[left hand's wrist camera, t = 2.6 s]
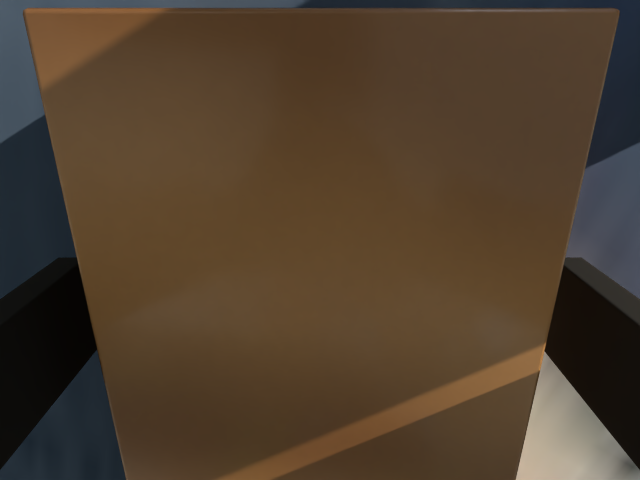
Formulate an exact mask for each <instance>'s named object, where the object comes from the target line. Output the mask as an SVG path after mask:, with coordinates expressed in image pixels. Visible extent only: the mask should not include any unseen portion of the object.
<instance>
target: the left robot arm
mask: <svg viewBox="0 0 640 480" xmlns="http://www.w3.org/2000/svg"><path fill="white" fill-rule="evenodd" d="M96 350H97V346H96V341H95V337H94V332H93V328H92V323H91V319H90V314H89V310H88V305H87V301H86V296H85V292H84V287H83V283H82V278H81V274H80V269H79V265H78V260H77V258H58V259H56V260H55V261H53V262H52V263H51V264H49V265H48V266H46V267H45V268H44V269H42V270H41V271H39V272H38V273H37V274H35V275H34V276H32V277H31V278H30V279H28V280H27V281H25V282H24V283H22V284H21V285H20V286H18V287H17V288H15V289H14V290H13V291H11V292H10V293H8V294H7V295H6V296H4V297H3V298H1V299H0V469H1V468H2V467H3V466H4V464H5V463H6V462H7V461H8V459H9V458H10V457H11V456H12V455H13V453H14V452H15V451H16V450H17V448H18V447H19V446H20V445H21V443H22V442H23V441H24V440H25V438H26V437H27V436H28V435H29V433H30V432H31V431H32V430H33V428H34V427H35V426H36V425H37V423H38V422H39V421H40V420H41V418H42V417H43V416H44V415H45V413H46V412H47V411H48V410H49V408H50V407H51V406H52V405H53V403H54V402H55V401H56V400H57V398H58V397H59V396H60V395H61V393H62V392H63V391H64V390H65V388H66V387H67V386H68V385H69V383H70V382H71V381H72V380H73V379H74V377H75V376H76V375H77V374H78V372H79V371H80V370H81V369H82V367H83V366H84V365H85V364H86V362H87V361H88V360H89V359H90V357H91V356H92V355H93V354H94V352H95V351H96ZM544 351H545V352H546V354H547V355H548V356H549V357H550V359H551V360H552V361H553V362H554V364H555V365H556V366H557V367H558V369H559V370H560V371H561V372H562V374H563V375H564V376H565V377H566V379H567V380H568V381H569V382H570V383H571V385H572V386H573V387H574V388H575V390H576V391H577V392H578V393H579V395H580V396H581V397H582V398H583V400H584V401H585V402H586V403H587V405H588V406H589V407H590V408H591V410H592V411H593V412H594V413H595V415H596V416H597V417H598V418H599V420H600V421H601V422H602V423H603V425H604V426H605V427H606V428H607V430H608V431H609V432H610V433H611V435H612V436H613V437H614V438H615V440H616V441H617V442H618V443H619V445H620V446H621V447H622V448H623V450H624V451H625V452H626V453H627V455H628V456H629V457H630V458H631V459H632V461H633V462H634V463H635V464H636V466H637V467H638V468H639V469H640V299H639V298H637V297H636V296H634V295H633V294H632V293H630V292H629V291H627V290H626V289H625V288H623V287H622V286H620V285H619V284H618V283H616V282H615V281H613V280H612V279H610V278H609V277H608V276H606V275H605V274H603V273H602V272H601V271H599V270H598V269H596V268H595V267H594V266H592V265H591V264H589V263H588V262H587V261H585V260H584V259H582V258H565V261H564V265H563V270H562V274H561V279H560V283H559V288H558V292H557V296H556V301H555V305H554V310H553V314H552V319H551V323H550V328H549V332H548V337H547V341H546V346H545V350H544Z"/></svg>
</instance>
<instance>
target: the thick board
mask: <svg viewBox="0 0 640 480" xmlns="http://www.w3.org/2000/svg"><path fill="white" fill-rule="evenodd" d="M619 15H620V13H619V10H618V9H615V8H27V9H25V10H23V17H24V21H25V26H26V30H27V35H28V39H29V44H30V48H31V53H32V57H33V62H34V66H35V71H36V75H37V80H38V84H39V89H40V93H41V98H42V102H43V107H44V111H45V116H46V120H47V125H48V129H49V134H50V138H51V143H52V147H53V152H54V157H55V161H56V166H57V170H58V175H59V179H60V184H61V188H62V193H63V197H64V202H65V206H66V211H67V215H68V220H69V224H70V229H71V233H72V238H73V242H74V247H75V251H76V256H77V260H78V265H79V269H80V274H81V278H82V283H83V287H84V292H85V296H86V301H87V305H88V310H89V314H90V319H91V323H92V328H93V332H94V337H95V341H96V346H97V350H98V355H99V359H100V364H101V368H102V373H103V377H104V382H105V387H106V391H107V396H108V400H109V405H110V409H111V414H112V418H113V423H114V427H115V432H116V436H117V441H118V445H119V450H120V454H121V459H122V463H123V468H124V472H125V477H126V480H516V475H517V471H518V466H519V462H520V457H521V453H522V449H523V444H524V440H525V435H526V431H527V426H528V422H529V417H530V413H531V408H532V404H533V399H534V395H535V390H536V386H537V381H538V377H539V372H540V368H541V364H542V359H543V355H544V350H545V346H546V341H547V337H548V332H549V328H550V323H551V319H552V314H553V310H554V305H555V301H556V296H557V292H558V288H559V283H560V279H561V274H562V270H563V265H564V261H565V256H566V252H567V247H568V243H569V238H570V234H571V229H572V225H573V220H574V216H575V211H576V207H577V203H578V198H579V194H580V189H581V185H582V180H583V176H584V171H585V167H586V162H587V158H588V153H589V149H590V144H591V140H592V135H593V131H594V127H595V122H596V118H597V113H598V109H599V104H600V100H601V95H602V91H603V86H604V82H605V77H606V73H607V68H608V64H609V59H610V55H611V50H612V46H613V42H614V37H615V33H616V28H617V24H618V19H619Z"/></svg>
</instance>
